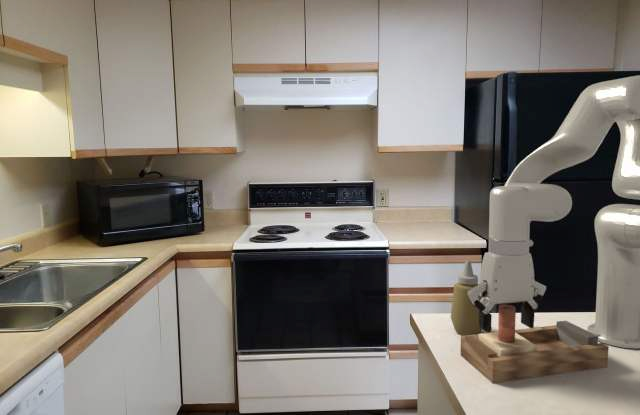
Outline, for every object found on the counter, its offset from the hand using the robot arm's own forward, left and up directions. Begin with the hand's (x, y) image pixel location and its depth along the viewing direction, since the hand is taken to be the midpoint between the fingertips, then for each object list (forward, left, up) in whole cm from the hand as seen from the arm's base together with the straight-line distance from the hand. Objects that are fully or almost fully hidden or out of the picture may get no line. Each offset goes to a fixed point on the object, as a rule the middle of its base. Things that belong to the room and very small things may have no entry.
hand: (506, 327), depth 88 cm
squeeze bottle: (-1, -17, -8) cm, 19 cm away
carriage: (0, 0, -6) cm, 6 cm away
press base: (-6, 0, -8) cm, 10 cm away
